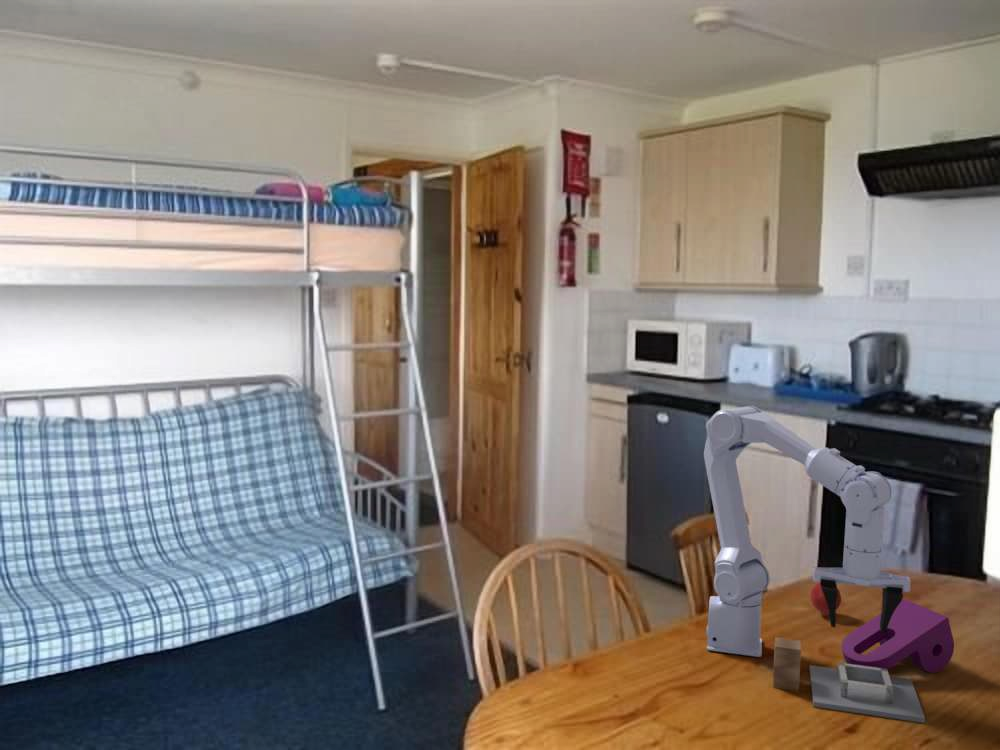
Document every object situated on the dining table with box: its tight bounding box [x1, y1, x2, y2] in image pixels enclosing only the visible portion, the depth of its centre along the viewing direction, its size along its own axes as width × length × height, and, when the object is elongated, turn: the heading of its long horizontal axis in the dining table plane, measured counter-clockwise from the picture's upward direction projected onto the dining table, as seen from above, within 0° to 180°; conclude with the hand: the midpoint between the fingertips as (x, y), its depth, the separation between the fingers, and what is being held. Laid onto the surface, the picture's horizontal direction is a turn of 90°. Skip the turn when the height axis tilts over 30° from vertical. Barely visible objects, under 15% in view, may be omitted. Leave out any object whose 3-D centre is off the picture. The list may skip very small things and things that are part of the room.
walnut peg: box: [772, 637, 802, 692], centre depth 144 cm, size 4×4×7 cm
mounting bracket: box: [840, 598, 955, 673], centre depth 152 cm, size 10×8×18 cm
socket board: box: [809, 662, 926, 724], centre depth 141 cm, size 16×14×3 cm
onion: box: [809, 582, 842, 617], centre depth 175 cm, size 6×6×8 cm
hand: (857, 627), depth 143 cm, fingers open, 7 cm apart
